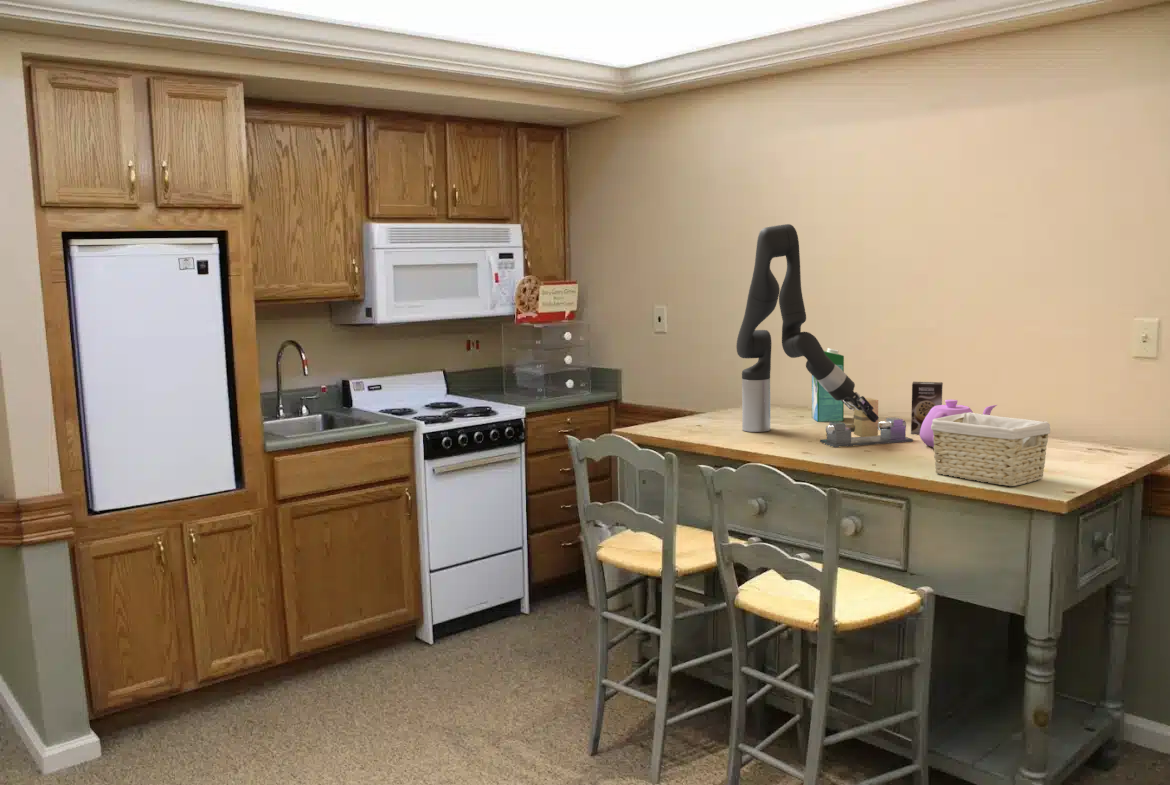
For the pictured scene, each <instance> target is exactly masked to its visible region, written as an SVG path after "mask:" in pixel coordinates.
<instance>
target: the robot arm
mask: <svg viewBox="0 0 1170 785" xmlns="http://www.w3.org/2000/svg"><path fill="white" fill-rule="evenodd" d="M799 242H800V241H799V236H798V231H797V229H796V228H795V227H794V226H793V225H792V224H790V223H787V224H785V223H784V224H778V225H771V226H767V227H764V228H762V229H760V231H759V233H758V237H757V241H756V250H755V257H754V258H755V260H754V268H753V272H752V276H751V277H752V278H751V282H750V285H749V290H748V295H747V299H746V306H745V311H744V316H743V320H742V322H741V325H740V328H739V331H738V335H737V339H736V346H735V347H736V353H737V355H738V356H739V357H740V358H741V359H757V361H756V363H754V364H753V365H751V366H749V367H746V368H745V369H743V370H742V372H741V398H742V400H741V402H742V403H741V404H742V406H741V408H742V409H741V410H742V415H741V416H742V417H741V418H742V419H741V420H742V421H741V422H742V424H741V425H742V428H741V429H742V431H744V432H748V433H749V432H751V433H760V432H761V433H763V432H768V431H771V370H772V367H771V365H772V364H771V363H772V362H771V361H772V359H771V358H772V336H771V333H770V332H769V330H767V329H757V328H758V326H759V325H760V324H762V323H763V321H765V319H767V318H768V317H769V316H770V315H771V314H772V313H773V312H774V310H775V309H776V307H777V303H778V304H779V310H780V315H781V319H782V326H781V346H782V350H783V352H784V353H785V354H786V355H787V357H789V358H792V359H795V358H801V357H804V358H805V359H806V361H805V362H806V363H805V368H806V370H807V371H808V372H809V373H810V374H811V376H812V375H813V376H814V377H815V378H816V379H817V380H818V382H819V383H820V384H821V386H822V387H823V388H824V389H825V390H826V391H827V392H828V393H829V394H830V395H831V396H832V397H833V398H834V399H835V400H837V401H839V400H841V401H842V402H843V403H844V405H845V406H846V407H847V408H848V409H849V410H852V411H853V412H854V407H855V408H856V409H857V410H858V411H860V410H861V411H862V412H863V413H864V414H865V415H866V416H867V417H868V418H869V419H870V420H871V421H872V422H876V421H877V420H878V421H879V417H880V416H879V415H878V416H877V415H876V414H875V413H874V412H873V411H872V410H873V409H874V408H873V407H872V406H871V405H870V403H869V402H868V401H867V400H866V399H865V398H866V397H865V396H864V395H861V394H859V393H858V392H856V391H854V390H855V387H856V385H855V382H854V381H853V380H852V379H851V378H850V376H848V374H847V373H845V372H843V371H842V370H841V369H840V368H839V367H838V366H837V365H835V364H834V363H833V362H832V361H831V360H830V359H829V358H828V357H827V356H826V354H825V352H824V351H825V350H824V348H823V347H822V345H821V344H820V342H819V340H818V339H817V338H816V336H815V335H813V334H812V333H811V332H808V331H801V329H802V325H803V324H804V323H805V322H806V321H807V314H806V313H807V312H806V308H805V303H804V297H803V292H802V282H801V280H802V279H801V277H802V276H801V257H800V255H801V254H800V243H799ZM780 257H785V259H786V271H785V276H784V279H783V281H782V284H781V287H780V284H779V282H778V280H777V278H776V277H775V275H774V273H773V271H772V270H771V262H772V260H773V259H774V258H780ZM858 406H860V407H858ZM866 408H867V409H866Z"/></svg>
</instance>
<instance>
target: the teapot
mask: <svg viewBox="0 0 1170 785" xmlns="http://www.w3.org/2000/svg"><path fill="white" fill-rule="evenodd" d="M944 402H945V404H942V405H937V406H934V407H933V408H932V409H931V410H930V411H929V413H928V414H927V416H926V417H925V419H924V421H923V423H922V426H921V429H920V434H919V437H920V439H921V440H922V442H923V443H924V444H925V445H926V446H928V447H930V448H932V449H934V438H933V437H934V434H933V430H932V429H931V425H932V421H933V419H936V418H941V417H946V416H951V415H957V414H963V413H968V412H971V413H974V412H973V410H972V409H971V407H969V406H967V405H963V404H958V399H945V400H944ZM997 406H998V404H994V405H993V404H992V405H989V406H986V407H985V408H984V409H983V412H982V414H984V415H991V413H992V411H993V409H995V407H997Z"/></svg>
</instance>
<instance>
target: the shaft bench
mask: <svg viewBox="0 0 1170 785" xmlns="http://www.w3.org/2000/svg"><path fill="white" fill-rule="evenodd" d="M906 427H907V422H906V420H904V419H902V418H900V417H896V416H894V417H886V419H885V421H878V431H880V434H878V436H871V437H860V436H854V437H852V433H854V431H855V425H854V423H849V424H846V423H845V422H844V421H830V422H829V425H826V426H825V433H826V438H825V439H820V440H819V443H820V442H822V443H821V444H823V443H825V444H824V445H826V444H827V445H826V446H828V445H830V446H829V447H831V446H833V447H834V448H840V447H839V446H847V447H854V446H853V445H860V446H871V445H872V446H873V445H884V444H897V443H909V442H910V443H911V442H913V440H914V439H913V438H911V437H907V436H906V431H907V430H906ZM833 447H832V448H833Z"/></svg>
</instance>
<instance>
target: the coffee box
mask: <svg viewBox="0 0 1170 785" xmlns="http://www.w3.org/2000/svg"><path fill="white" fill-rule="evenodd" d="M943 384H944V383H943V382H941V381H939V382H935V381H913V382H912V384H911V414H910V418H911V419H910V420H911V423H910V434H911V435H912V434H913V435H920V429H921V426H922V423H923V421H924V419H925V417H926V416H927V414H928V413H929V411H930V410H931V409H932V408H933V407H934V406H937V405H943Z"/></svg>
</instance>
